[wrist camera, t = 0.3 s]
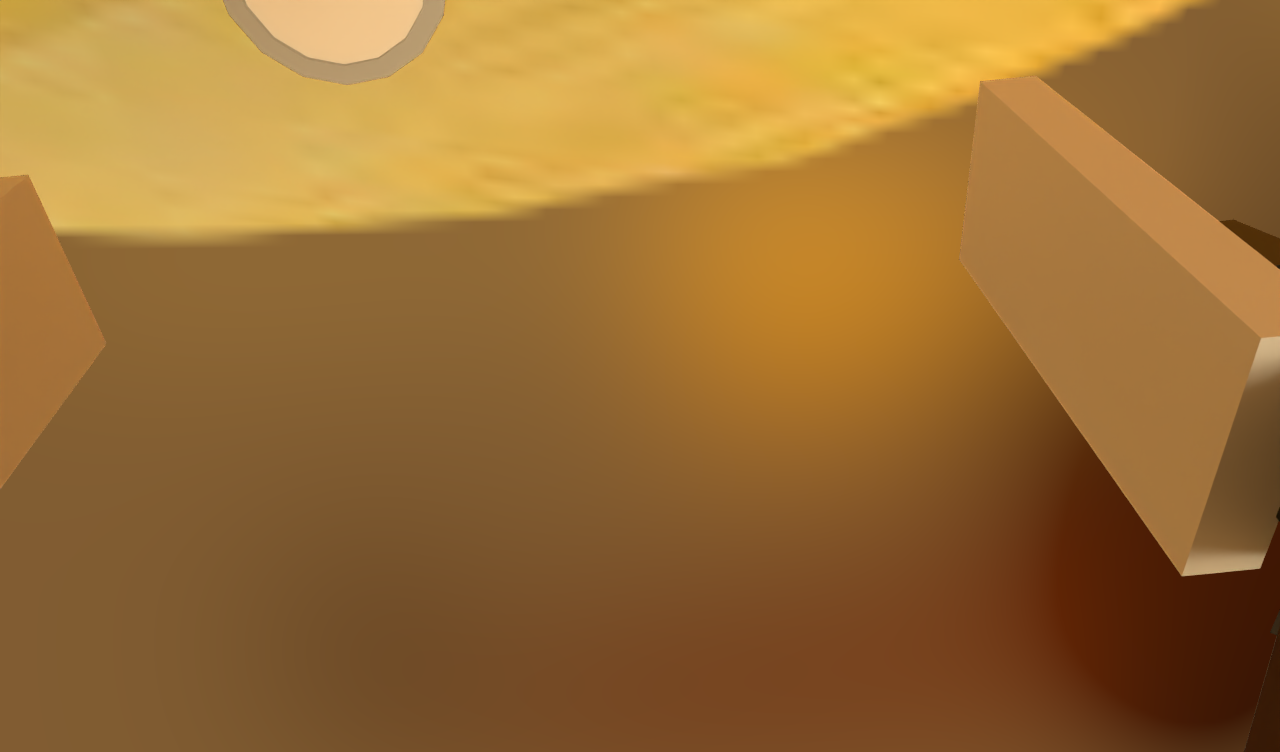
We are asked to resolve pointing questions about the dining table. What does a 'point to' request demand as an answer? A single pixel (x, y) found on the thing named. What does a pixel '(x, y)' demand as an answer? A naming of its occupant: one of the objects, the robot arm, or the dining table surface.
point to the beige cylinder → (339, 34)
